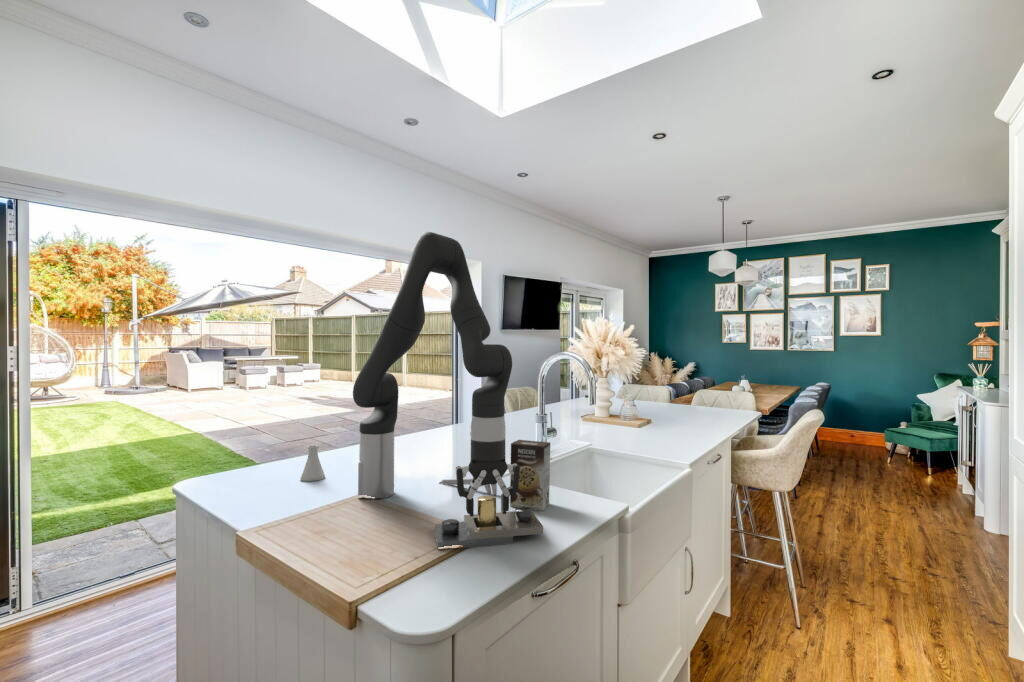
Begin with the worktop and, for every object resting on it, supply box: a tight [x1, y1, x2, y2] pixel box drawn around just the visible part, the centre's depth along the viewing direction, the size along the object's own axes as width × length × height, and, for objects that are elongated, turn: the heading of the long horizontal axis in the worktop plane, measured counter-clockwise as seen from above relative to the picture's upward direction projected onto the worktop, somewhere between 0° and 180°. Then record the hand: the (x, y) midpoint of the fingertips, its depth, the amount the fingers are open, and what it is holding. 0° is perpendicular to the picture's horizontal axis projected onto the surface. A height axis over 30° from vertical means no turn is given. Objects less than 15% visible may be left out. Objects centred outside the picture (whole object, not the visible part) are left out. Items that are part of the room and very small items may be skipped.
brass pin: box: [477, 495, 497, 528], centre depth 102 cm, size 4×4×8 cm
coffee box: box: [509, 439, 551, 511], centre depth 121 cm, size 9×6×16 cm
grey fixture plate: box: [434, 507, 544, 549], centre depth 102 cm, size 22×10×5 cm, turn 103°
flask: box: [300, 444, 326, 482], centre depth 144 cm, size 7×7×10 cm
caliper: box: [438, 478, 498, 496], centre depth 135 cm, size 20×1×6 cm, turn 56°
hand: (487, 513), depth 102 cm, fingers open, 6 cm apart
